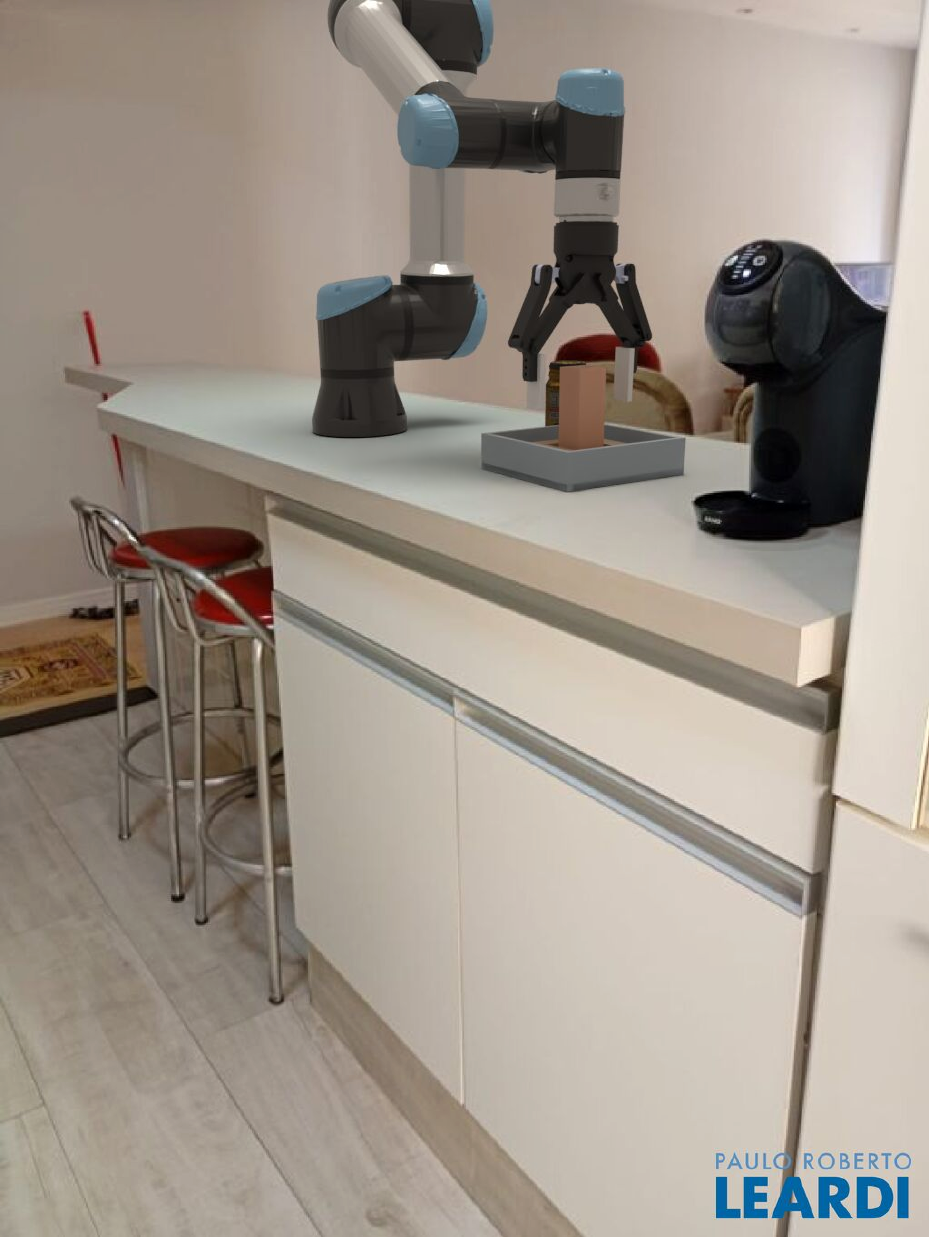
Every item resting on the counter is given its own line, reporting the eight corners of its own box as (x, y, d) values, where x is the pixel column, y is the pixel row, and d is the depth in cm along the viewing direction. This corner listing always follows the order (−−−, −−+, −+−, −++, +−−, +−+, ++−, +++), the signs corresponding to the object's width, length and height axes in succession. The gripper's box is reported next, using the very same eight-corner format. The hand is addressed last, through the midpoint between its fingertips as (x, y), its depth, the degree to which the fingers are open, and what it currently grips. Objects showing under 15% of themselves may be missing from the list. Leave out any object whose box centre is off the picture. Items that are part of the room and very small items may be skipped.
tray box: (481, 468, 129) (481, 433, 128) (591, 454, 138) (592, 421, 137) (567, 491, 115) (567, 452, 113) (683, 474, 124) (685, 437, 122)
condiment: (599, 448, 143) (602, 361, 139) (552, 454, 139) (554, 365, 135) (567, 441, 149) (569, 358, 145) (521, 447, 145) (521, 361, 141)
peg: (558, 464, 127) (559, 366, 123) (583, 461, 129) (585, 364, 125) (577, 469, 124) (580, 369, 120) (603, 465, 126) (606, 367, 122)
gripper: (516, 217, 108) (514, 417, 115) (688, 220, 120) (676, 400, 127) (478, 219, 114) (479, 409, 121) (645, 222, 126) (636, 393, 133)
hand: (580, 405), depth 124 cm, fingers open, 13 cm apart
